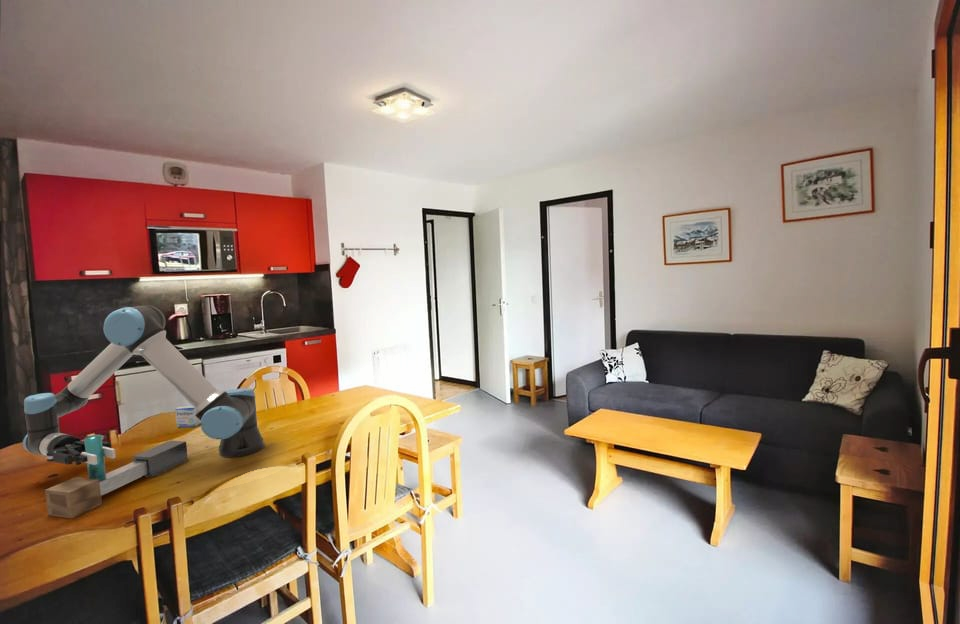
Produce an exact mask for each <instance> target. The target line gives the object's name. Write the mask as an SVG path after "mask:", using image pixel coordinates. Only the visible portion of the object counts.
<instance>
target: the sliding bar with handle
mask: <svg viewBox="0 0 960 624" xmlns="http://www.w3.org/2000/svg"><path fill="white" fill-rule="evenodd" d="M83 441H84V444H85V452H86V453H90V454H94V455H97V464H96V465H93V464H89V463H86V466H87V474H88V475H87V477H88V478H89V479H99V484H100V492H101V497H102V496H105V495H106V494H108V493H110V492H113V491H115V490H117V489H119V488H121V487H123V486H125V485H127V484H129V483H131V482H133V481H135V480H138V479H139V478H143V477H142V476H144V475H146V474H148V473H149V466H148V460H140V459H139V460H137V461H134V460H133V461H132V462H130V463H128V464H126V465H123V466H120V467H118V468H116V469H114V470H111V471H108V472H106V464H105V457H104V454H103V446H102V441H103V439H102V434H93V435H87V436H86V437H84V438H83Z"/></svg>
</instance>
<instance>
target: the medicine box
mask: <svg viewBox="0 0 960 624" xmlns="http://www.w3.org/2000/svg"><path fill="white" fill-rule="evenodd" d="M174 412H178V413H175V414H174V415H175V424H176V423H177V425H179V427H182V429H183V428H185V429H186V428H192V427H194V428H195V427H197V426H198V425H201V421H200V420H199V419H198V418H197V417H196V416H195V415H194V414H195V408H194V407H193V406H192V405H181V406H178V407H176V408H175V409H174Z"/></svg>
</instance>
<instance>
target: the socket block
mask: <svg viewBox="0 0 960 624" xmlns="http://www.w3.org/2000/svg"><path fill="white" fill-rule="evenodd" d="M44 495H45V501H46V509H47V516H49V517H50V516H51V517H59V518H67V519H74V518H76V517H78V516H80V515H84V513H86V512H89V511H91V510H93V509H95V508H97V507H98V506H101V505H103V501H102V496H101V492H100V484H99V479H89V477H88V478H87V477H78V476H77V477H76V476H75V477H73V478H71V479H68V480H66V481H63V482H61V483H58V484H55V485H53V486H50V487H49V488H46V489H44Z"/></svg>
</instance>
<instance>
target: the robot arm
mask: <svg viewBox="0 0 960 624" xmlns="http://www.w3.org/2000/svg"><path fill="white" fill-rule="evenodd" d="M165 327H166V317H165V315H164V314H163V312H162V311H161V310H160V309H158V308H157V307H155V306H154V305H153V306H152V305H147V304H145V305H143V304H141V305H136V306H130V307H129V306H127V307H122V308H119V309H116V310H114V311H112V312H111V313H109V314H108V315H107V317H105V319H104V323H103V334H104V335H105V337H106V339H107V340H108V341H109V343H110V344H108V345H107V346H106V347H105V348H104V349H103V350H102V351H101V352H100V353H99V354H98V355H97V356H96V357H95V358H94V359H93V360H92V361H91V362H89V364H87V365H86V367H84V369H82V371H80V372H79V373H78V374H77V375H76V376H75V377H74V378H73V379H72V380H71V381H70V382H69V383H68V384H67V385H66V386H65V387H64V388H63V389H62V390H60V392H58V393H56V394H54V393H53V392H44V393H43V392H42V393H37V394H34V395H33V394H32V395H29V396H26V397H25V398H24V400H23V406H24V409H23V413H24V417H25V424H26V430H27V434H26V435H25V436H24V438H23V439H22V446H23V449H25V451H27V452H29V453H31V454H33V455H40V456H44V457H46V462H53V463H59V464H64V465H72V464H73V463H74V462H75V465H76V466H79V465H82V463H85V464H87V463H89V464H93V465H96V464H97V455H94V454H90V453H86V452H85V444H84V440H81V439H80V438H79V437H78V436H75V435H71V434H67V433H61V432H60V422H59V418H61V417H63V416H65V415H68V414H70V413H72V412H74V411H78V410H80V409H81V408H82V407H83V408H84V406H85V405H86V404H87V403H88V401H89V398H90V397H91V396H92V395H93V394H94V393H95V392H96V391H97V390H98V389H99V388H100V387H102V385H103V384H105V382H106V381H107V380H109V379H110V378H111V376H113V375H114V374H115V373H116V372H117V371H118V370H119V369H120V368H121V367H122V366H123V365H124V364H125V363H126V362H127V361H128V360H129V359H130V358H131V357H132V356H133V355H134V356H135V355H136V356H141V357H142V358H144V360H145V361H146V362H147V363H148V364H150V366H151V367H152V368H154V369H155V370H156V371H157V372H158V373H159V375H161V376H162V377H163V378H164V379H165V380H166V381H167V382H168V383H169V385H171V386H172V387H173V388H174V389H175V390H176V391H177V392H178V393H179V394H180V396H182V397H183V398H184V399H185V400H186V401H187V402H188V403H189V404H190V406H193V407H194V408H195V414H194V415H195V416H196V417H197V418H198V419H199V420H200V429H201V431H202V432H203V434H205V436H207V437H208V438H211V439H212V440H220V441H219V442H220V443H219V445H218V455H219V456H221V457H224V458H237V457H244V456H247V455H251V454H254V453H256V452H260V451H261V450H262V449H263V448H264V446H265V440H264V437H262V434H261V432H260V429H259V427H258V418H257V416H258V415H257V407H256V406H257V405H256V395H255V391H254V389H253V388H247V387H246V388H243V387H242V388H234V389H226V390H225V389H224V390H219V389H217V388H216V387H215V386H214V385H213V384H212V383H211V382H210V381H209V380H208V379H207V378H206V377H205V376H204V375H203V374H202V372H200V371H199V369H197V368H196V367H195V366H194V365H193V364H192V363H191V362H190V361H189V360H188V359H187V358H186V357H185V356H184V355H183V354H182V353H181V352H180V351H179V350H178V349H177V348H176V347H175V346H174V345H173V344H172V342H170V341H169V340H168V339H167V337H166V335H167V330H166V329H165ZM102 446H103V454H104V458H109V459H112V460H113V459H116V457H117V456H116V449H115V448H113V447H112V443H111V442H110V441H109V442H108V441H104V440H102Z"/></svg>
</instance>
